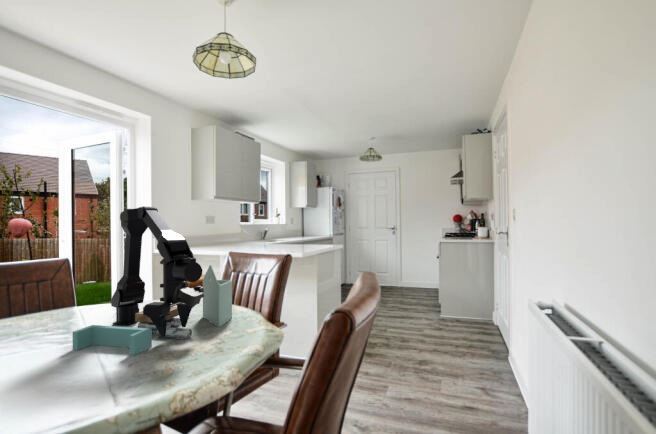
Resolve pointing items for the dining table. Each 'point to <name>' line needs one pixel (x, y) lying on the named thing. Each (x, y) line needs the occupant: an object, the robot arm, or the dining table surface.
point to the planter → (217, 299)
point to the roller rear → (174, 322)
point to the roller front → (151, 325)
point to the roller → (176, 333)
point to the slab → (143, 318)
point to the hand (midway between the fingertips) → (174, 331)
